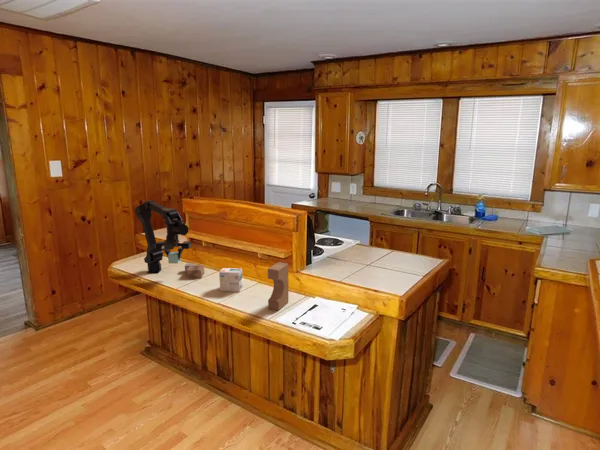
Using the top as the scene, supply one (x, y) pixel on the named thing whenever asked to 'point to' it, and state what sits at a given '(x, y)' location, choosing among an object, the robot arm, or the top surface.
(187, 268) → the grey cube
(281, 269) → the decorative block
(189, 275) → the walnut block
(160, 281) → the top surface
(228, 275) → the light bulb box
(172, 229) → the robot arm
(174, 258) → the teal cube
